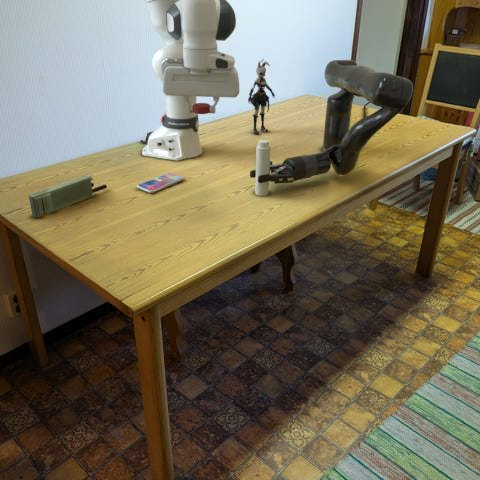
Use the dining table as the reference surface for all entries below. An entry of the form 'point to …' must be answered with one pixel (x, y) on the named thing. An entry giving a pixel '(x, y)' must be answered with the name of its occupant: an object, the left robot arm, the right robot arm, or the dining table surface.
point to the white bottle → (262, 166)
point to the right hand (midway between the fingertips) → (254, 177)
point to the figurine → (260, 96)
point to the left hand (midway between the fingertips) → (201, 112)
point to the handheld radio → (62, 195)
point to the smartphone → (159, 182)
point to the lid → (201, 108)
